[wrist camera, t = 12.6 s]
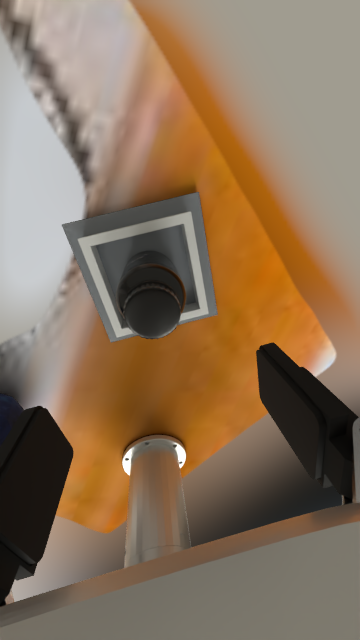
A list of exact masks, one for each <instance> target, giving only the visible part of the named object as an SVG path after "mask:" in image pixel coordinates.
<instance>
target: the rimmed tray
mask: <svg viewBox="0 0 360 640" xmlns="http://www.w3.org/2000/svg"><path fill="white" fill-rule="evenodd" d="M62 226H63V229H64V231H65V234H66V236H67V239H68V241H69V243H70V245H71V248H72V251H73V253H74V255H75V258H76V260H77V263H78V265H79V267H80V270H81V272H82V274H83V277H84V279H85V282H86V284H87V286H88V289H89V291H90V294H91V296H92V298H93V301H94V303H95V306H96V308H97V310H98V313H99V315H100V317H101V320H102V322H103V325H104V327H105V329H106V332H107V334H108V337H109V339H110V341H111V342H114V341H118V340H122V339H126V338H130V337H134V336H137V335H136V334H135V333H133V332H132V330H130V329H129V327H128V326H127V325H126V321H125V320H124V317H123V316H122V314H121V313H120V311H119V309H118V306H117V302H116V291H117V287H118V284H119V281H120V278H121V276H122V273H123V271H124V268H125V266H126V264H127V262H128V261H129V260H130V259H131V258H132V257H133V256H134V255H136V254H137V253H140V252H142V251H157V252H160V253H162V254H164V255H165V256H167V257H168V258H169V259H170V260H171V261H172V263H173V264H174V266H175V268H176V270H177V272H178V274H179V276H180V278H181V280H182V282H183V284H184V287H185V291H186V303H185V307H184V310H183V312H182V314H181V316H180V321H179V323H178V325H180V324H183V323H187V322H191V321H195V320H199V319H203V318H206V317H210V316H214V315H218V314H217V307H216V301H215V294H214V288H213V281H212V275H211V268H210V262H209V255H208V249H207V242H206V236H205V229H204V223H203V216H202V210H201V203H200V197H199V192H196V193H192V194H188V195H183V196H179V197H175V198H171V199H167V200H163V201H158V202H154V203H150V204H146V205H142V206H137V207H133V208H129V209H125V210H121V211H117V212H112V213H108V214H104V215H100V216H96V217H91V218H87V219H83V220H79V221H75V222H71V223H67V224H63V225H62Z"/></svg>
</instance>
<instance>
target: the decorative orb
mask: <svg viewBox="0 0 360 640" xmlns="http://www.w3.org/2000/svg"><path fill="white" fill-rule="evenodd" d="M23 411H24V410H23V408H22V407H21V406H20V405H19V403H18V402H17V401H16V400H15V399H14V398H13V397H11V396H8V395H5V394H1V393H0V446H1V444H2V443H3V441H4V440H5V438H6V437H7V435H8V433H9V432H10V430H11V429H12V427H13V426H14V424H15V423H16V421H17V419H18V418H19V416H20V415H21V413H22V412H23Z"/></svg>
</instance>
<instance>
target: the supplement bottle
mask: <svg viewBox="0 0 360 640" xmlns="http://www.w3.org/2000/svg"><path fill="white" fill-rule="evenodd" d="M116 302H117V306H118V309H119V311H120V313H121V314H122V316H123V317H124V320H125V321H126V325H127V326H128V327H129V329H130V330H132V332H133V333H135V334H136V335H138V336H140V337H142V338H146V339H155V338H156V339H158V338H160V337H164V336H166V335H168V334H169V333H171V332H172V331H173V330H174V329H176V326H177V325H178V323H179V321H180V316H181V314H182V312H183V310H184V307H185V303H186V291H185V287H184V284H183V282H182V280H181V278H180V276H179V274H178V272H177V270H176V268H175V266H174V264H173V263H172V261H171V260H170V259H169V258H168V257H167V256H165V255H164V254H162V253H160V252H157V251H142V252H140V253H137V254H136V255H134V256H133V257H132V258H131V259H130V260H129V261H128V262H127V264H126V266H125V268H124V271H123V273H122V276H121V278H120V281H119V284H118V287H117V291H116Z"/></svg>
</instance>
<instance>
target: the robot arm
mask: <svg viewBox="0 0 360 640" xmlns="http://www.w3.org/2000/svg"><path fill="white" fill-rule="evenodd" d="M256 356H257V368H258V380H259V392H260V398H261V401H262V403H263V404H264V406H265V407H266V409H267V411H268V412H269V414H270V415H271V417H272V418H273V420H274V421H275V423H276V424H277V426H278V427H279V429H280V431H281V432H282V434H283V435H284V437H285V438H286V440H287V441H288V443H289V445H290V446H291V448H292V449H293V451H294V452H295V454H296V456H297V457H298V459H299V460H300V462H301V463H302V465H303V466H304V468H305V469H306V471H307V472H308V474H309V475H310V477H311V478H312V479H317V480H318V481H319V483H320V484H321V486H322V487H323V488H325V487H329V486H332V485H333V486H334V487H335V489H336V490H337V492H338V493H339V494H341V495H342V506H337V507H332V508H327V509H323V510H320V511H316V512H312V513H309V514H305V515H301V516H298V517H294V518H290V519H287V520H283V521H279V522H276V523H273V524H269V525H266V526H262V527H259V528H256V529H253V530H249V531H246V532H242V533H239V534H236V535H232V536H229V537H226V538H222V539H219V540H216V541H212V542H209V543H206V544H202V545H199V546H195V547H192V548H191V543H190V536H189V529H188V522H187V515H186V508H185V501H184V493H183V486H182V479H181V472H180V468H181V467H182V465H183V464H184V462H185V460H186V452H185V448H184V446H183V444H182V443H181V442H180V441H179V440H177V439H175V438H173V437H170V436H166V435H151V436H147V437H143V438H141V439H138V440H137V441H135V442H133V443H132V444H131V445H129V446H128V448H127V449H126V450H125V452H124V454H123V459H122V465H123V468H124V470H125V472H126V473H127V474H129V475H130V479H129V496H128V514H127V531H126V548H125V567H124V568H123V569H120V570H117V571H113V572H110V573H107V574H104V575H100V576H97V577H94V578H91V579H88V580H84V581H81V582H78V583H75V584H71V585H68V586H65V587H62V588H59V589H56V590H52V591H49V592H46V593H42V594H39V595H36V596H33V597H30V598H27V599H24V600H20V601H17V602H14V599H13V595H12V590H11V588H12V585H13V582H14V579H16V580H20V579H24V578H27V577H30V576H34V573H35V569H36V566H37V563H38V562H39V561H40V560H41V558H42V557H43V554H44V551H45V548H46V544H47V541H48V538H49V534H50V531H51V528H52V524H53V521H54V518H55V515H56V511H57V508H58V505H59V501H60V498H61V495H62V491H63V488H64V485H65V481H66V478H67V475H68V472H69V468H70V465H71V462H72V458H73V448H72V446H71V445H70V443H69V442H68V440H67V439H66V437H65V436H64V434H63V433H62V431H61V430H60V428H59V427H58V425H57V423H56V422H55V420H54V419H53V417H52V416H51V414H50V413H49V411H48V410H47V409H46V408H43V407H41V406H36V407H33V408H29V409H26V410H24V411H23V412H22V413H21V415H20V416H19V418H18V419H17V421H16V423H15V424H14V426H13V427H12V429H11V430H10V432H9V433H8V435H7V437H6V438H5V440H4V441H3V443H2V444H1V446H0V640H360V418H359V417H358V416H357V415H356V414H354V413H353V412H352V411H351V410H350V409H349V408H348V407H347V406H346V405H345V404H344V403H343V402H342V401H340V400H339V399H338V398H337V397H336V396H335V395H334V394H333V393H332V392H330V390H328V389H327V388H326V387H325V386H324V385H323V384H322V383H321V382H320V381H319V380H318V379H317V378H315V377H314V376H313V375H312V374H311V373H310V372H309V371H308V370H307V369H305V368H304V367H299V366H298V365H297V364H296V363H295V362H294V361H293V360H292V359H291V358H290V357H288V356H287V355H286V354H285V353H284V352H283V351H282V350H281V349H280V348H279V347H278V346H277V345H276V344H275V343H269V344H265V345H262V346H260V348H259V350H257V351H256Z"/></svg>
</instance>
